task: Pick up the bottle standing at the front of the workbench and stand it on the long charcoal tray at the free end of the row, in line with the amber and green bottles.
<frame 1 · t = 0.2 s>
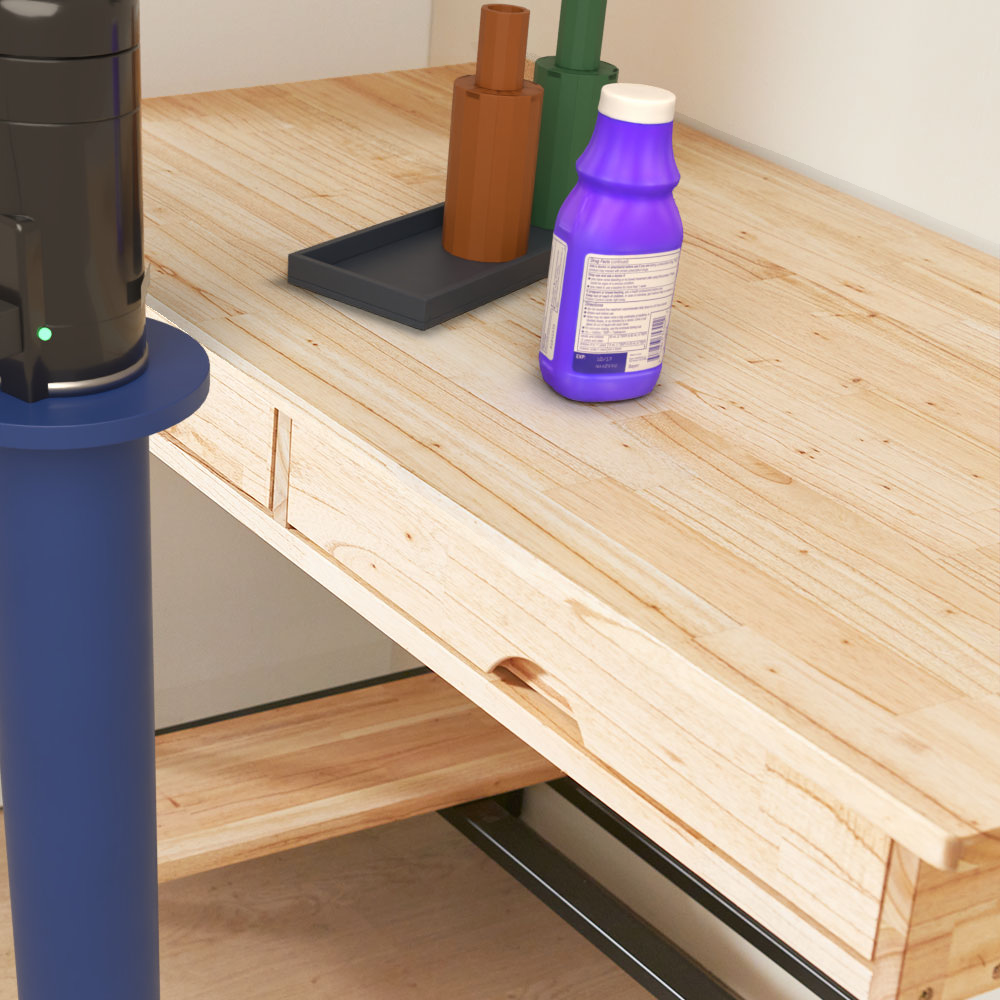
green bottle: (559, 225, 117), resting on tray
bottle: (597, 390, 91), on the table
tray: (483, 254, 109), on the table
amber bottle: (483, 254, 109), resting on tray
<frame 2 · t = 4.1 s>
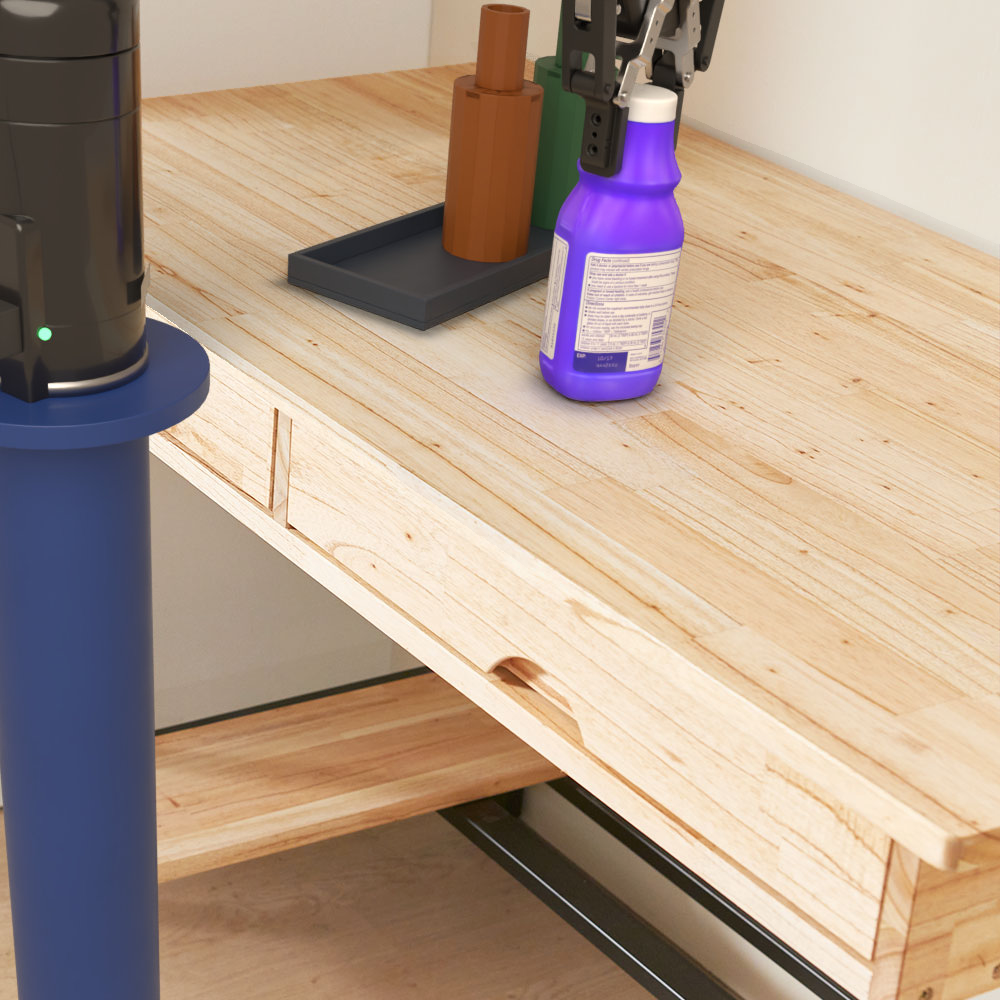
hand: (627, 161, 84), 14 cm above the table, tool pointing down, fingers closed on bottle, 5 cm apart
bottle: (597, 390, 91), on the table, touching gripper
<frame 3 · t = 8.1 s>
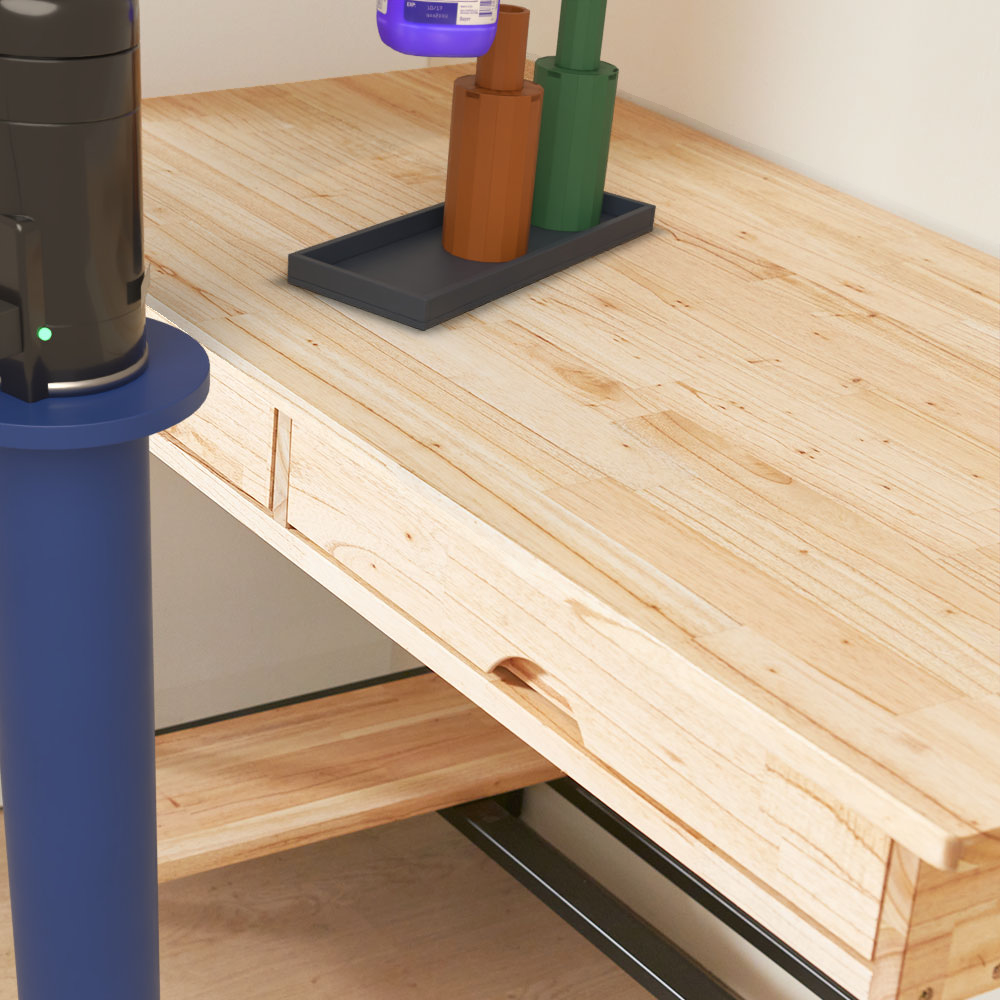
bottle: (435, 55, 93), point 16 cm above the table, touching gripper
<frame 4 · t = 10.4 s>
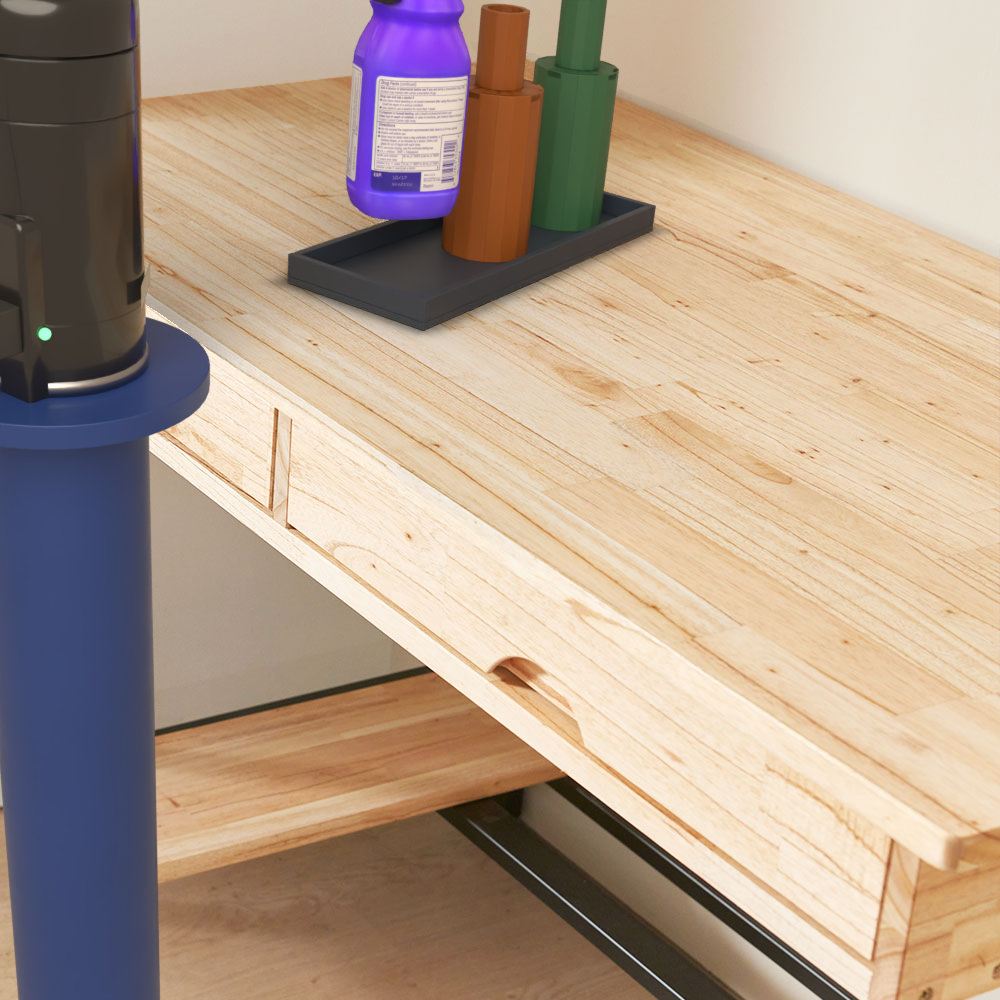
bottle: (401, 214, 99), point 5 cm above the table, touching gripper
when the fingers open (14 cm above the table, at t = 12.2 s): bottle stays where it is, resting on tray.
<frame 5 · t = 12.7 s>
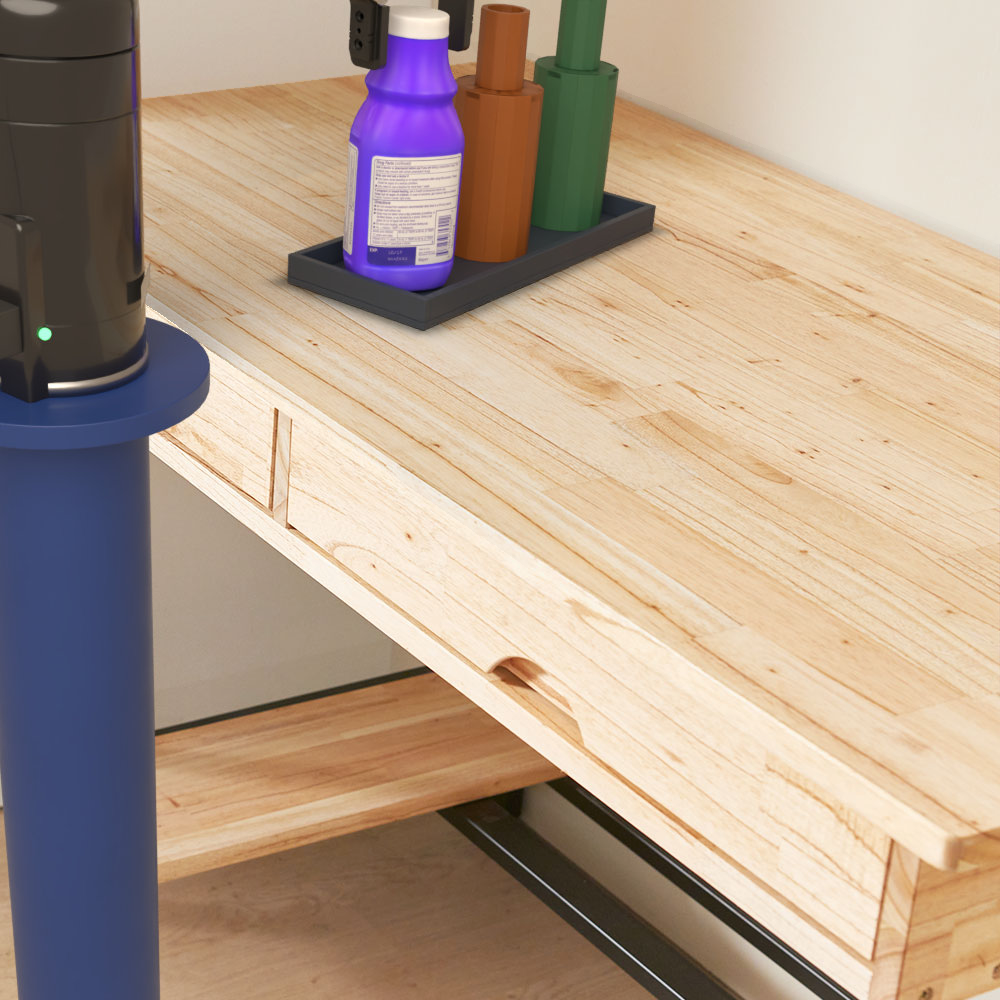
hand: (411, 58, 95), 15 cm above the table, tool pointing down, fingers open, 8 cm apart
bottle: (397, 284, 102), resting on tray
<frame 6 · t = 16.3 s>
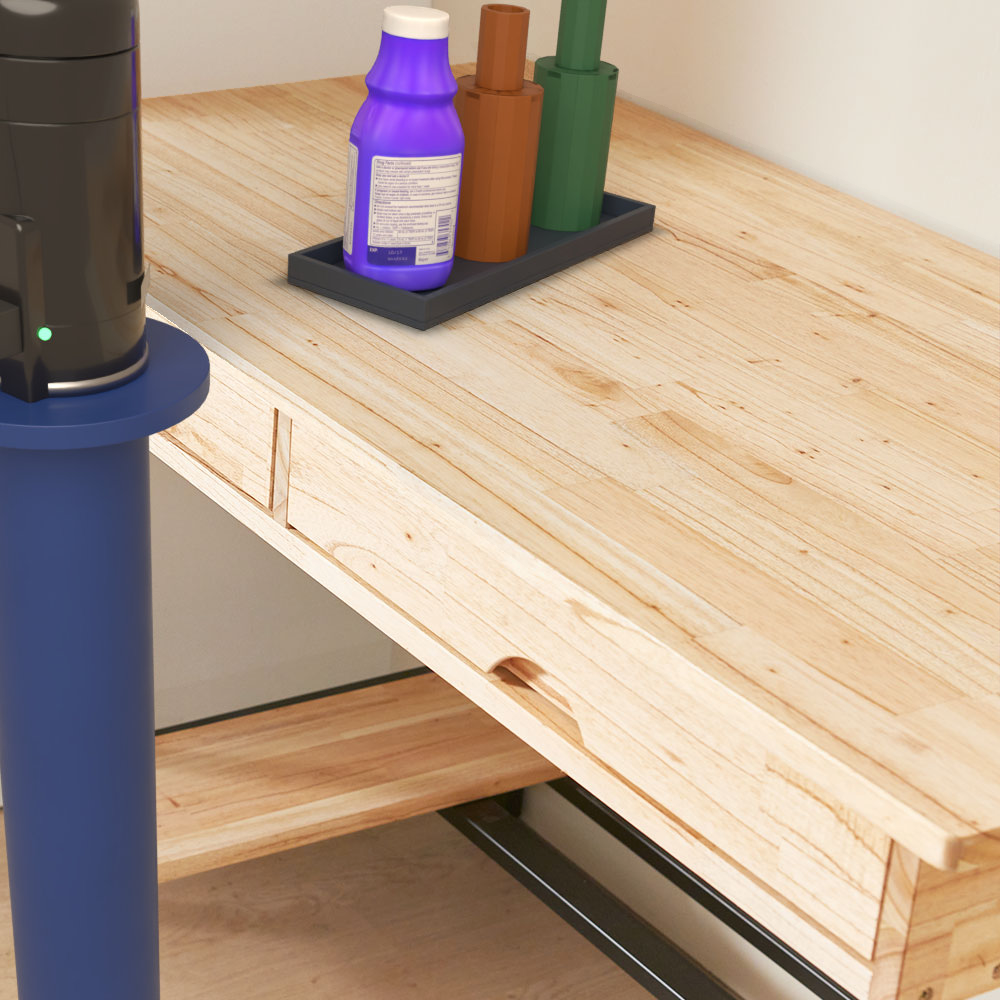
nothing on the table moved.
at the end: bottle 0.1 cm from the target spot in the tray, point 0.3 cm above the tray's base; bottle tilted 0°; the gripper is holding nothing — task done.
